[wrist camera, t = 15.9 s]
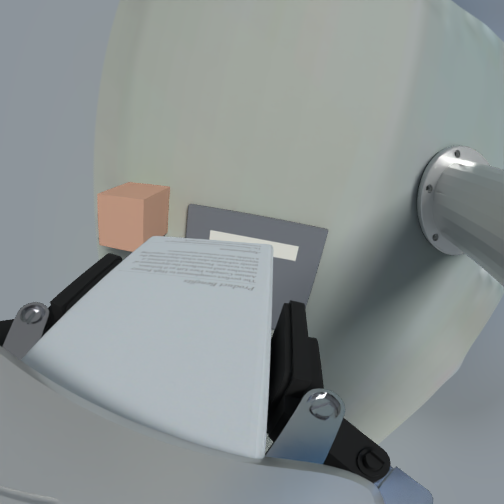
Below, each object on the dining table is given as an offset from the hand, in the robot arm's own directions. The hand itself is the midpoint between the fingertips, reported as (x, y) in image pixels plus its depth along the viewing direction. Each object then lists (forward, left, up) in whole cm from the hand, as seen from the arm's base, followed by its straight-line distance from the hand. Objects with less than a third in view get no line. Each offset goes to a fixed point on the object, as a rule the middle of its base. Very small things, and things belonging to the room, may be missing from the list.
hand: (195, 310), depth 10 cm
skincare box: (0, 0, -3) cm, 3 cm away
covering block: (+11, +2, -18) cm, 21 cm away
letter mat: (-1, +7, -17) cm, 19 cm away
